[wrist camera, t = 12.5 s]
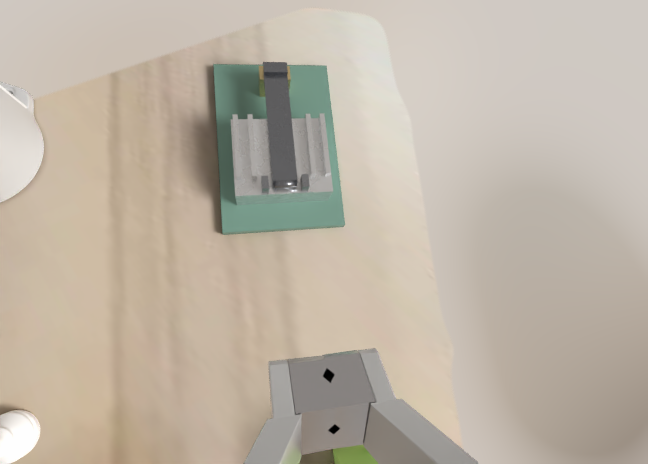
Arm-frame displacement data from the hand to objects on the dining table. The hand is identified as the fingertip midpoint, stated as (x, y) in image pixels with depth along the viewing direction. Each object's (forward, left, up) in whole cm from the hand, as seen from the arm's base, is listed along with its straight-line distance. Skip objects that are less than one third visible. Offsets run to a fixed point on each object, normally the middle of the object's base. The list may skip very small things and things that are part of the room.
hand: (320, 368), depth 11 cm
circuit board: (-11, +22, -40) cm, 47 cm away
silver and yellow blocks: (-11, +22, -38) cm, 46 cm away
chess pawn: (-20, -22, -40) cm, 49 cm away
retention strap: (-11, +22, -34) cm, 42 cm away
